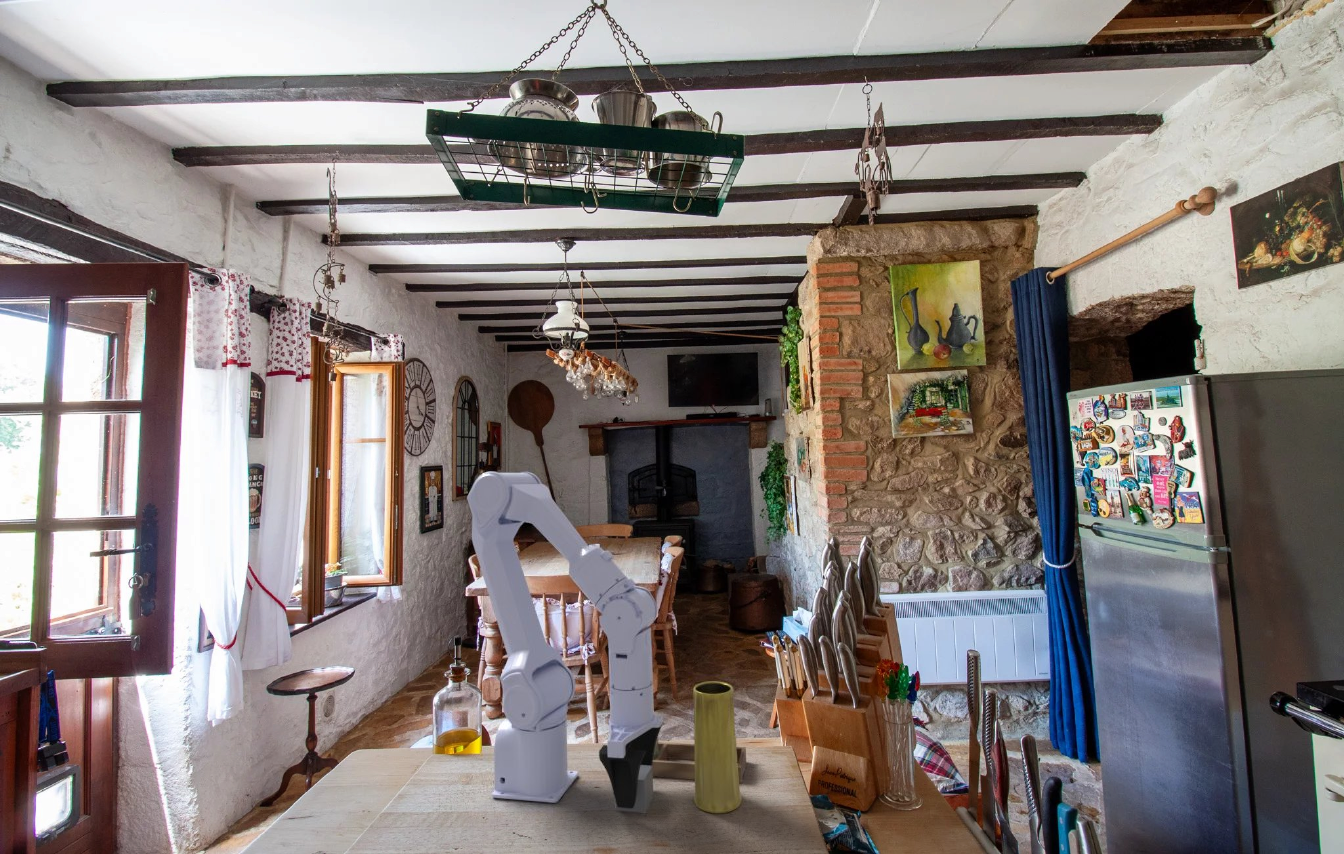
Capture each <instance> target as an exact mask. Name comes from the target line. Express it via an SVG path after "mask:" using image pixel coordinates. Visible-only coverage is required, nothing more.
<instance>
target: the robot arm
mask: <svg viewBox="0 0 1344 854" xmlns="http://www.w3.org/2000/svg"><path fill="white" fill-rule="evenodd" d="M466 499H467V500H466V501H467V502H468V507H469V509H470V512H471V517H472V518H471V519H472V521H471V541H472V545H473V548H474V551H475V554H476V557H477V560H478V564H479V567H480V571H481V575H482V577H483V581H484V583H485V584H484V585H485V587H486V591H487V593H488V596H489V599H490V603H491V606H492V610H493V612H494V616H495V620H496V622H497V625H498V630H499V631H500V635H501V638H502V642H503V645H504V648H505V651H506V655H507V661H506V662H505V663H506V664H505V665H504V667H503V670H502V673H501V675H500V677H499V680H500V683H501V688H502V700H501V701H502V702H501V703H502V709H503V713H504V715H505V717H506V718H505V719H504V720H503V721H502V722H501V723H500V725H499V727H498V729H497V731H496V735H495V740H494V752H493V754H494V755H493V756H494V759H493V760H494V763H493V764H494V765H493V766H494V767H493V768H494V772H493V773H494V791H493V792H492V793H491V797H492V798H494V799H495V798H497V799H505V800H506V799H508V800H518V801H529V802H530V801H532V802H542V803H553V804H555V803H558V802H559V800H560V799H561V798H562V796H563V795H564V794H565V792H566V791H567V790H568V789H569V787H570V786H571V785H572V783H574V781H575V780H576V778H577V777H578V776H579V771H577V770H568V768H569V766H568V727H567V726H568V724H567V722H568V721H567V715H568V714H567V712H568V703H569V702H570V701H571V700H572V699H573V697H574V696H575V692H576V681H575V680H576V679H575V677H574V674H573V672H572V671H571V669H570V668H568V667H569V666H567V665H566V663H565V662H564V660H563V657H562V656H561V653H560V651H559V650H558V649H556V648H555V647H554V646H552V645H551V644H549V643H548V642H546V638H545V635H544V632H543V629H542V625H541V622H540V620H539V617H538V613H537V610H536V607H535V604H534V601H533V598H532V595H531V591H530V588H529V586H528V582H527V580H526V577H525V573H524V571H523V567H522V565H521V561H520V557H519V555H518V551H517V548H516V546H515V543H514V538H516V537H515V536H516V534H517V533H518V531H519V529H520V527H521V526H522V525H523V524H524V523H527V524H528V523H529V524H532V525H533V526H534V527H535V528H536V530H538V531H539V533H540V534H541V535H543V536H544V537H545V538H546V540H547V541H548V542H549V543H550V544H551V545H552V546H553V547H554V548H555V549H556V550H557V551H558V552H559V553H560V555H562V557H563V558H564V559H565V560H567V562H568V564H569V565H568V575H569V577H570V579H572V581H573V582H574V584H576V586H577V587H578V588H579V589H580V591H582V593H583V594H584V596H585V597H586V598H587V599H588V600H589V601H590V602H591V604H592V605H593V606H594V607H595V609H596V610H597V611H598V612H599V613H601V615H600V616H598V620H599V624H600V627H601V629H602V631H603V632H604V634H605V635H606V637H607V643H608V644H607V646H608V647H607V648H608V663H609V664H608V666H609V667H608V669H609V671H608V672H609V706H610V707H609V711H610V713H609V714H610V717H609V719H608V726H609V727H608V730H609V738H608V739H607V740H606V741H607V742H606V744H607V745H605V744H604V745H602V747H600V749H599V751H598V757H599V758H598V759H599V761H600V762H601V764H602V766H603V767H604V769H605V771H606V773H607V775H608V778H609V781H610V784H611V788H612V791H613V796H614V801H615V800H616V804H617V807H619V808H631V809H632V808H633V807H634V805H635V801H636V795H637V784H638V775H639V770H640V766H641V765H650V766H652V763H653V756H654V750H655V745H656V741H657V737H658V738H659V735H660V731H661V728H662V726H663V725H664V717H663V716H661V715H660V716H656V714H655V711H654V683H653V682H654V681H653V680H654V679H653V678H654V677H653V676H654V675H653V673H654V672H653V649H652V648H653V646H652V628H651V625H652V624H653V623H654V621H655V620H656V618H657V613H658V606H657V602H656V600H655V598H654V597H653V595H652V593H651V591H650V590H649V589H648V588H646V587H644V586H639V585H636V582H635V581H634V579H633V578H628V576H627V575H626V574H625V573H624V572H623V571H622V570H621V569H620V568H619V566H618V565H617V564H616V563H615V562H614V561H613V558H614V555H613V553H612V552H611V551H610V550H604V549H603V548H602V547H599V546H589V545H588V544H587V542H586V541H585V540H584V538H583V537H582V536H581V534H580V533H579V532H578V531H577V529H576V528H575V527H574V525H573V524H572V523H571V522H570V520H569V519H568V518H567V516H566V515H565V514H564V512H563V511H562V509H561V508H560V507H559V506H558V504H557V503H556V501H554V499H553V497H552V495H551V491H550V489H549V487H547V485H545V484H544V483H542V481H541V479H540V478H539V477H538V476H537V475H536V474H534V473H533V472H530V471H520V472H497V471H486V472H483V473H482V474H480V475H479V476H478V477H477V478H476V479H475V481H474V482H473V485H472V486H471V488H470V491H469V493H468V495H467V497H466Z"/></svg>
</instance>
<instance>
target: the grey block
mask: <svg viewBox="0 0 1344 854" xmlns="http://www.w3.org/2000/svg"><path fill="white" fill-rule="evenodd" d="M653 798H654V776H653V770H652V766H650V765H641V766H640V770H639V775H638V784H637V795H636V801H635V805H634V807H633V808H632V809H631V808H619V807H617V804H616V800H615V799H614V810H615V811H620V812H630V813H631V812H632V813H643V814H646V812H647V811H648V808H649V807H650V804H651V802H652V800H653Z"/></svg>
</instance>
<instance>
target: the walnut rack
mask: <svg viewBox="0 0 1344 854" xmlns="http://www.w3.org/2000/svg"><path fill="white" fill-rule="evenodd" d="M735 738H736V739H737V736H736V735H735ZM736 751H737V762H738V763H737V764H738V776H739V784H740V783H741V784H742V783H743V778H744V773H745V770H746V765H747V748H746V747H745V746H744V747H743V746H742V747H741V746H736ZM668 759H679V760H692V761H693V760H694V761H695V744H693V743H679V742H678V743H677V742H663V741H662V742H660V741H659V736H658V737H657V741H656V745H655V750H654V756H653V763H652V770H653V777H656V778H671V779H684V780H695V762H689V761H687V762H686V761H673V760H668ZM744 769H745V770H744Z"/></svg>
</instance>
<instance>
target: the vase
mask: <svg viewBox="0 0 1344 854" xmlns="http://www.w3.org/2000/svg"><path fill="white" fill-rule="evenodd" d="M692 693H693V694H692V695H693V724H694V725H693V726H694V728H693V729H694V734H693V735H694V739H693V740H694V741H693V742H694V744H695V760H694V763H695V779H694V798H693V799H694V800H693V801H694V804H695V806H696V807H697V808H698V809H700V810H701V811H704V812H707V813H710V814H711V813H712V814H726V813H727V814H728V813H730V812H733V811H735V810H736V809H737V808H739V807H740V806H741V803H742V794H741V789H740V783H739V776H738V763H737V751H736V747H737V737H736V738H735V736H736V724H735V720H736V719H735V704H734V703H735V701H734V700H735V699H734V696H735V695H734V687H733V685H731V684H730V683H727V682H723V681H718V680H717V681H716V680H714V681H704V682H700V683H697V684H695V685H694V687H693V691H692Z"/></svg>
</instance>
